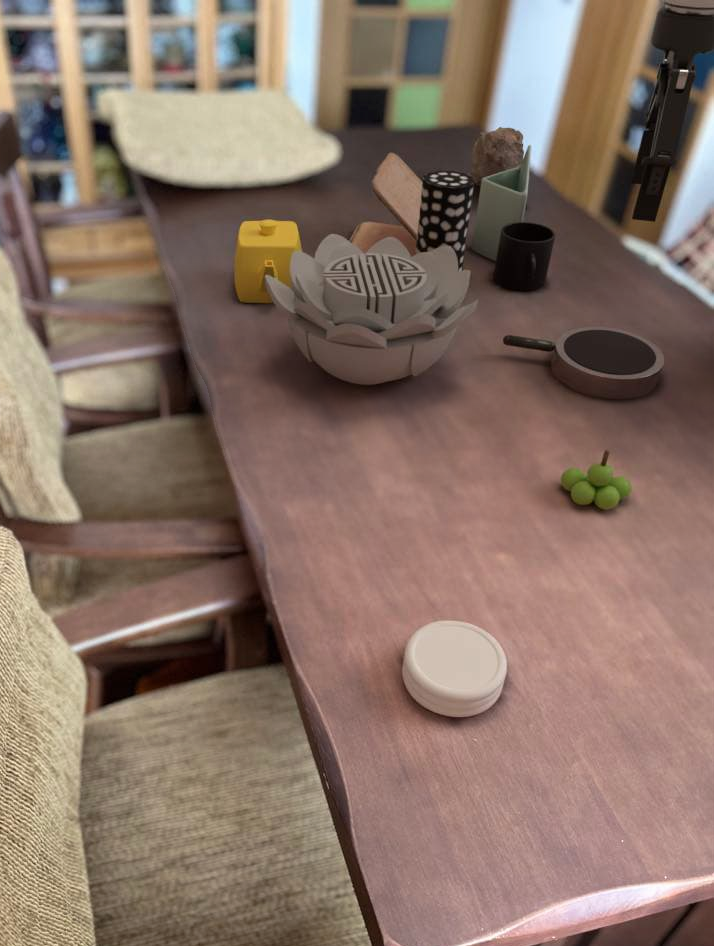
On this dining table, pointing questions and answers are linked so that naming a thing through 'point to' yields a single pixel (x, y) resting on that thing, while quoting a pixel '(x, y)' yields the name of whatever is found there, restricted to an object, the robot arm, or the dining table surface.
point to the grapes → (596, 485)
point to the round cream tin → (454, 668)
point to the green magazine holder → (500, 206)
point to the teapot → (264, 257)
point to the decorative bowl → (373, 307)
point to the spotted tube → (445, 212)
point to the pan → (601, 361)
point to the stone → (496, 153)
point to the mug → (523, 255)
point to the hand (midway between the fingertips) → (642, 201)
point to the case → (393, 206)
